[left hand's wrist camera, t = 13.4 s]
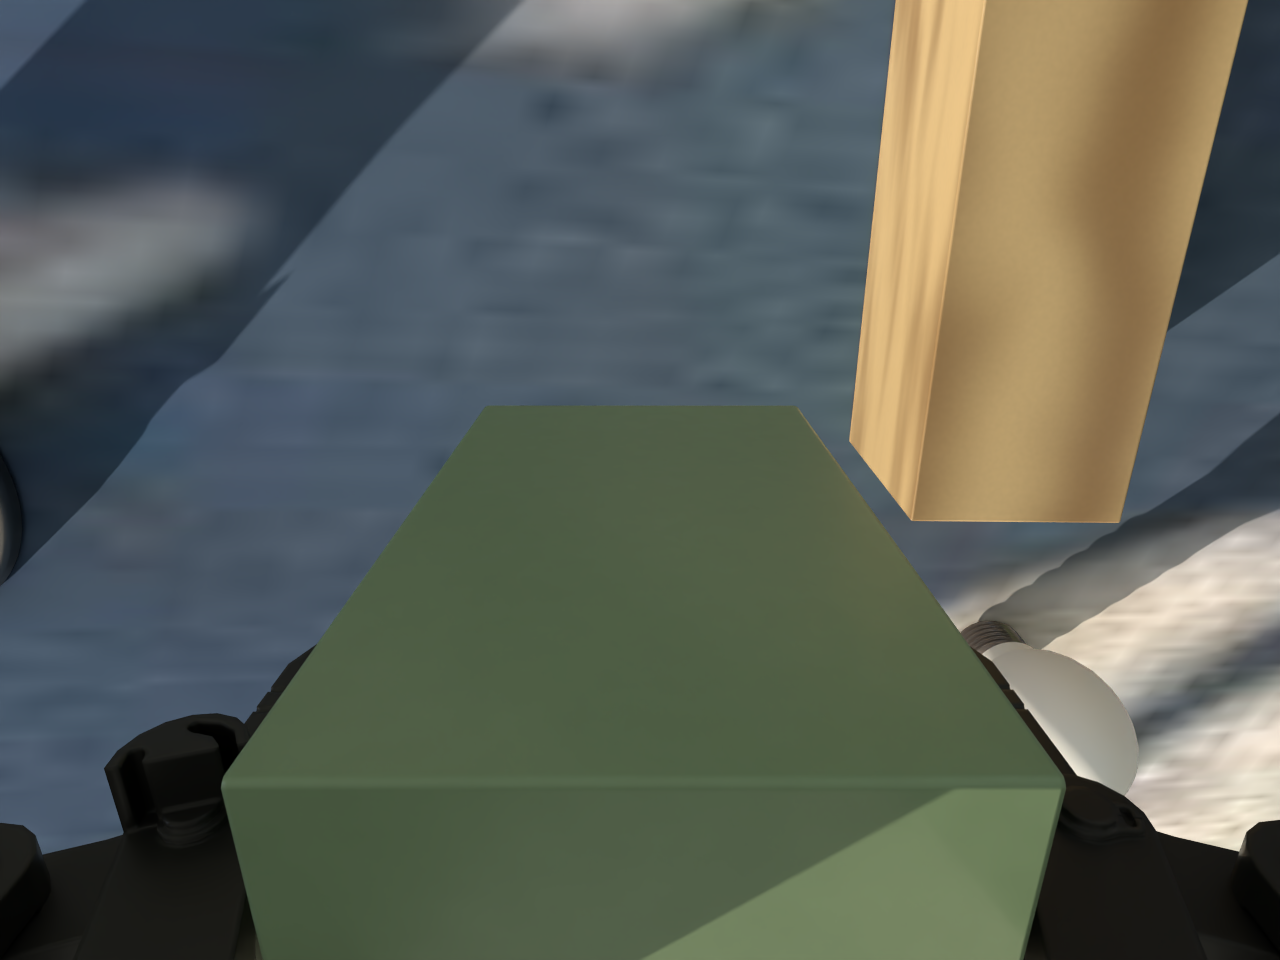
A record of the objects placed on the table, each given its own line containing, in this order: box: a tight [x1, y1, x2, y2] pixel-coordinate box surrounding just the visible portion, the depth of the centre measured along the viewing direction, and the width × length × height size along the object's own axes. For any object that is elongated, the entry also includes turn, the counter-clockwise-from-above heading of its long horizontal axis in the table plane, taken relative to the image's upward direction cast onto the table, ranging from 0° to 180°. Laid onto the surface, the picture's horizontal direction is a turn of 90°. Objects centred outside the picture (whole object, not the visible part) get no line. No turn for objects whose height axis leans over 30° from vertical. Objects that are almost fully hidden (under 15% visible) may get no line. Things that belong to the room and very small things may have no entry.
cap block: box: [221, 406, 1066, 960], centre depth 11 cm, size 6×6×10 cm
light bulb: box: [961, 621, 1138, 796], centre depth 38 cm, size 7×7×11 cm
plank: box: [850, 0, 1248, 523], centre depth 29 cm, size 8×30×10 cm, turn 0°
